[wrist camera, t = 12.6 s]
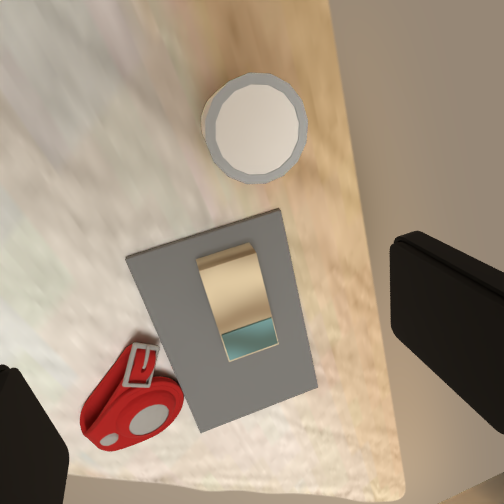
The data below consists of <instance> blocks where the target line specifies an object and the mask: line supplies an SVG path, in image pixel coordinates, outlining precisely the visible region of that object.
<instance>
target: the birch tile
mask: <svg viewBox="0 0 504 504" xmlns="http://www.w3.org/2000/svg"><path fill="white" fill-rule="evenodd" d="M196 262H197V266H198V269H199V273H200V276H201V279H202V282H203V285H204V288H205V291H206V294H207V297H208V300H209V303H210V306H211V309H212V312H213V315H214V318H215V321H216V324H217V327H218V330H219V333H220V336H221V339H222V342H223V345H224V348H225V351H226V354H227V357H228V360H229V362H231V361H234V360H237V359H239V358H242V357H245V356H248V355H250V354H253V353H256V352H259V351H262V350H264V349H267V348H270V347H273V346H275V345H278V344H279V343H278V339H277V334H276V330H275V326H274V322H273V318H272V314H271V310H270V306H269V302H268V298H267V294H266V290H265V286H264V282H263V278H262V274H261V270H260V266H259V262H258V257H257V253H256V252H255V250H254V249H253V247H252V246H251V244H250V243H249V242H248V243H245V244H242V245H239V246H236V247H233V248H229V249H226V250H223V251H220V252H217V253H214V254H211V255H207V256H204V257H201V258H198V259H196Z"/></svg>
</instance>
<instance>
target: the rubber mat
mask: <svg viewBox="0 0 504 504" xmlns="http://www.w3.org/2000/svg"><path fill="white" fill-rule="evenodd" d="M248 242H249V243H250V244H251V246H252V247H253V249H254V250H255V252H256V253H257V257H258V262H259V266H260V270H261V274H262V278H263V282H264V286H265V290H266V294H267V298H268V302H269V306H270V310H271V314H272V318H273V322H274V326H275V330H276V334H277V339H278V343H279V344H278V345H275V346H273V347H270V348H267V349H264V350H262V351H259V352H256V353H253V354H250V355H248V356H245V357H242V358H239V359H237V360H234V361H231V362H229V360H228V357H227V354H226V351H225V348H224V345H223V342H222V339H221V336H220V333H219V330H218V327H217V324H216V321H215V318H214V315H213V312H212V309H211V306H210V303H209V300H208V297H207V294H206V291H205V288H204V285H203V282H202V279H201V276H200V273H199V269H198V266H197V262H196V259H198V258H201V257H204V256H207V255H211V254H214V253H217V252H220V251H223V250H226V249H229V248H233V247H236V246H239V245H242V244H245V243H248ZM125 260H126V262H127V265H128V267H129V269H130V272H131V274H132V276H133V278H134V281H135V283H136V285H137V288H138V290H139V292H140V295H141V297H142V299H143V301H144V304H145V306H146V308H147V311H148V313H149V315H150V318H151V320H152V322H153V324H154V327H155V329H156V331H157V334H158V336H159V338H160V341H161V343H162V345H163V347H164V350H165V352H166V354H167V357H168V359H169V361H170V364H171V366H172V368H173V370H174V373H175V375H176V377H177V380H178V382H179V384H180V387H181V389H182V391H183V393H184V396H185V398H186V400H187V403H188V405H189V407H190V410H191V412H192V414H193V416H194V419H195V421H196V423H197V426H198V428H199V430H200V433H202V432H205V431H208V430H210V429H213V428H215V427H218V426H220V425H223V424H226V423H228V422H231V421H233V420H236V419H238V418H241V417H243V416H246V415H249V414H251V413H254V412H256V411H259V410H261V409H264V408H267V407H269V406H272V405H274V404H277V403H279V402H282V401H285V400H287V399H290V398H292V397H295V396H297V395H300V394H302V393H305V392H308V391H310V390H313V389H315V388H318V384H317V380H316V375H315V370H314V365H313V361H312V356H311V351H310V346H309V342H308V337H307V332H306V328H305V323H304V318H303V313H302V309H301V304H300V299H299V294H298V290H297V285H296V280H295V276H294V271H293V266H292V261H291V257H290V252H289V247H288V242H287V238H286V233H285V228H284V224H283V219H282V214H281V210H280V209H275V210H272V211H269V212H266V213H263V214H260V215H256V216H253V217H250V218H247V219H244V220H241V221H238V222H234V223H231V224H228V225H225V226H222V227H219V228H215V229H212V230H209V231H206V232H203V233H200V234H197V235H193V236H190V237H187V238H184V239H181V240H178V241H174V242H171V243H168V244H165V245H162V246H159V247H156V248H152V249H149V250H146V251H143V252H140V253H137V254H133V255H130V256H127V257H126V259H125Z"/></svg>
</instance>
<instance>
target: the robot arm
mask: <svg viewBox="0 0 504 504" xmlns="http://www.w3.org/2000/svg"><path fill="white" fill-rule="evenodd" d="M390 300H391V301H390V302H391V303H390V306H391V328H392V330H393V333H394V334H395V336H396V337H397V338H398V339H399V340H400V341H401V342H402V343H403V344H404V345H406V346H407V347H408V348H409V349H410V350H411V351H412V352H413V353H414V354H415V355H416V356H417V357H418V358H419V359H421V360H422V361H423V362H424V363H425V364H426V365H427V366H428V367H429V368H430V369H431V370H432V371H433V372H435V374H437V375H438V376H439V377H440V378H441V379H442V380H443V381H444V382H445V383H447V385H448V386H449V387H450V388H452V389H453V390H454V391H455V392H456V393H457V394H458V395H459V396H460V397H461V398H462V399H463V400H464V401H465V402H466V403H468V404H469V405H470V406H471V407H472V408H473V409H474V410H475V411H476V412H477V413H478V414H479V415H481V416H482V417H483V418H484V419H485V420H486V421H487V422H488V423H489V424H490V425H491V426H492V427H493V428H494V429H496V430H497V431H498V432H500V433H502V434H504V272H502V271H499V270H497V269H495V268H493V267H491V266H489V265H487V264H485V263H483V262H481V261H479V260H477V259H475V258H473V257H471V256H469V255H467V254H465V253H463V252H461V251H459V250H457V249H455V248H453V247H451V246H449V245H447V244H445V243H443V242H441V241H439V240H437V239H435V238H433V237H431V236H429V235H427V234H425V233H423V232H420V231H414V232H410V233H407V234H404V235H401V236H398V237H397V238H395V240H394V244H392V245H391V246H390ZM68 466H69V452H68V448H67V446H66V444H65V442H64V441H63V439H62V438H61V436H60V434H59V433H58V431H57V430H56V428H55V426H54V425H53V423H52V422H51V420H50V419H49V417H48V415H47V414H46V412H45V411H44V409H43V407H42V406H41V404H40V403H39V401H38V399H37V398H36V396H35V395H34V393H33V391H32V390H31V388H30V387H29V385H28V384H27V382H26V380H25V379H24V377H23V376H22V374H21V372H20V371H19V370H18V369H17V368H11V369H10V368H9V367H8V366H6V365H0V504H63V498H64V491H65V485H66V479H67V473H68ZM438 504H504V472H503V473H501V474H499V475H497V476H495V477H492V478H490V479H488V480H486V481H484V482H482V483H480V484H478V485H476V486H474V487H472V488H470V489H467V490H465V491H463V492H461V493H459V494H457V495H455V496H453V497H451V498H449V499H447V500H445V501H442V502H440V503H438Z"/></svg>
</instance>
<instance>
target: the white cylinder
mask: <svg viewBox="0 0 504 504" xmlns="http://www.w3.org/2000/svg"><path fill="white" fill-rule="evenodd" d="M307 128H308V119H307V116H306V112H305V108H304V105H303V101H302V100H301V98H300V97H299V96H298V94H297V93H296V92H295V90H294V89H293V88H292V87H291V85H290V84H289V83H287V82H285V81H283V80H282V79H280V78H278V77H276V76H274V75H272V74H268V73H247V74H245V75H242V76H240V77H238V78H235V79H233V80H231V81H229V82H227V83H226V84H225V85H224V86H222V87H221V88H220V89H219V90H217V91H216V92H215V93H214V94H213V95H212V96H211V97H210V99H209V100H208V101H207V102H206V104H205V107H204V109H203V112H202V115H201V131H202V134H203V136H204V139H205V142H206V144H207V147H208V149H209V151H210V154H211V156H212V159H213V161H214V163H215V164H216V165H217V166H218V167H219V168H220V169H221V170H222V171H223V172H224V173H225V174H226V175H227V176H228V177H230V178H233V179H235V180H238V181H240V182H243V183H245V184H266V183H268V182H270V181H273V180H275V179H277V178H279V177H282V176H284V175H285V174H286V173H287V172H288V171H289V170H290V169H291V168H292V167H293V166H294V165H295V164H296V163H297V162H298V160H299V157H300V155H301V153H302V151H303V149H304V146H305V144H306V141H307Z"/></svg>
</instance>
